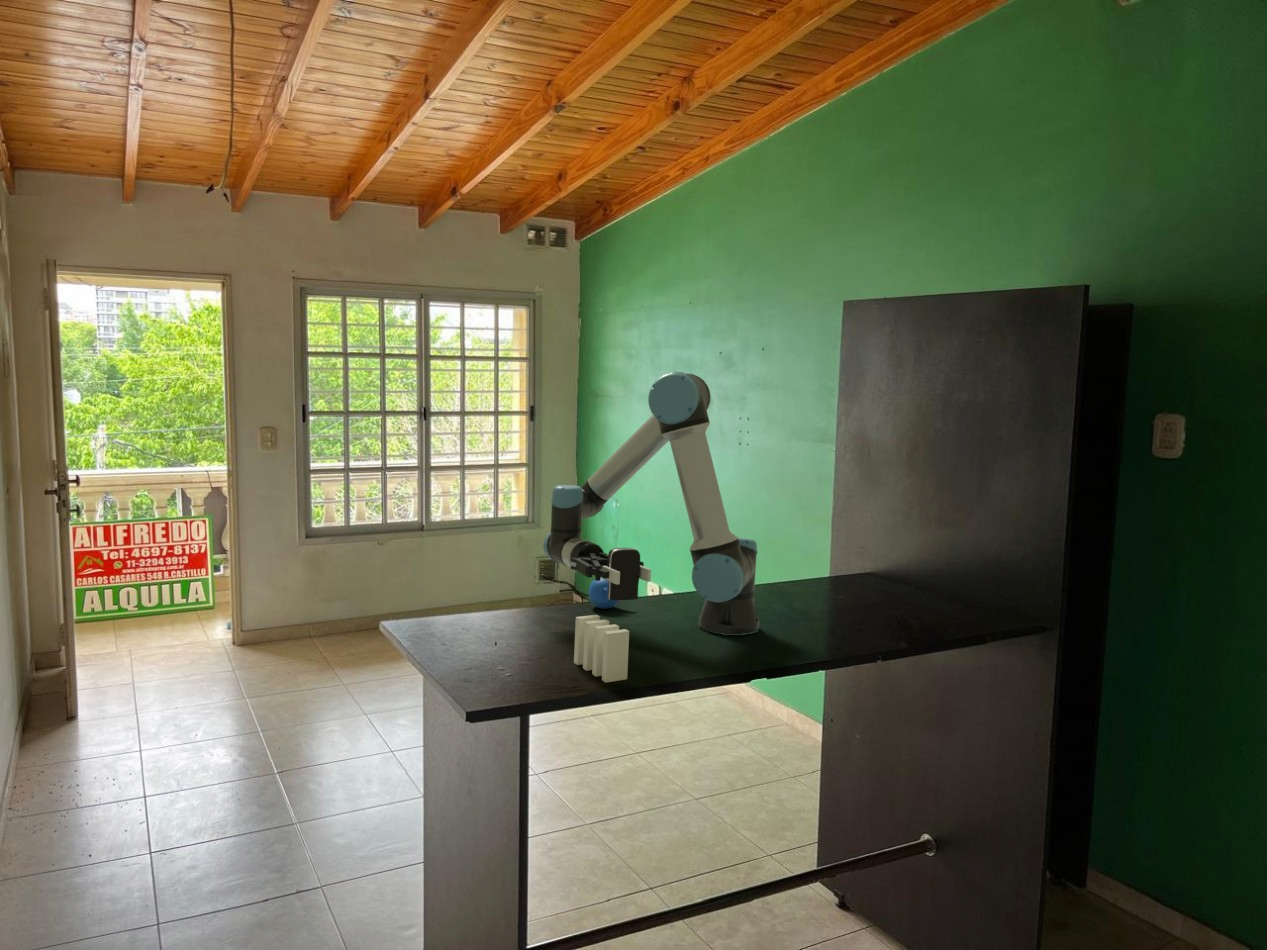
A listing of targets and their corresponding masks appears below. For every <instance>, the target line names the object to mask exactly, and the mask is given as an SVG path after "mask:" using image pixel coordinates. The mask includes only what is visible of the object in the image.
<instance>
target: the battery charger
mask: <svg viewBox="0 0 1267 950" xmlns="http://www.w3.org/2000/svg"><path fill="white" fill-rule="evenodd" d="M607 555H608V562H607V567H610V568H612V569H614V570H617V571H619V572H620V584H614V583H612V582H610V581H609V588H608V599H609V600H621V601H631V600H633V601H634V600H638V599H639V584H640V579H639V575H640V561H641V553H640V551H639V550H638V549H635V548H633V547H615V548H611V549H610V550H609V551H608V554H607Z"/></svg>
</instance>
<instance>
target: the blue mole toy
mask: <svg viewBox="0 0 1267 950" xmlns="http://www.w3.org/2000/svg"><path fill="white" fill-rule="evenodd" d="M608 588H609V581H607V580H605V579H603V578H602V577H601V580H600V581H596V580H595V579H593V581H592V582H591V583H590V585H589V588H588V597H589V601H590V603H591V604H592V605H593V606H594V607H596V608H599V609H601V610H604V609H605V610H606V609H610V608H613V607H614V606H616V605H617V604H619V603H621V602H622V600H609V599H608ZM593 602H601V603H593Z"/></svg>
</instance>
